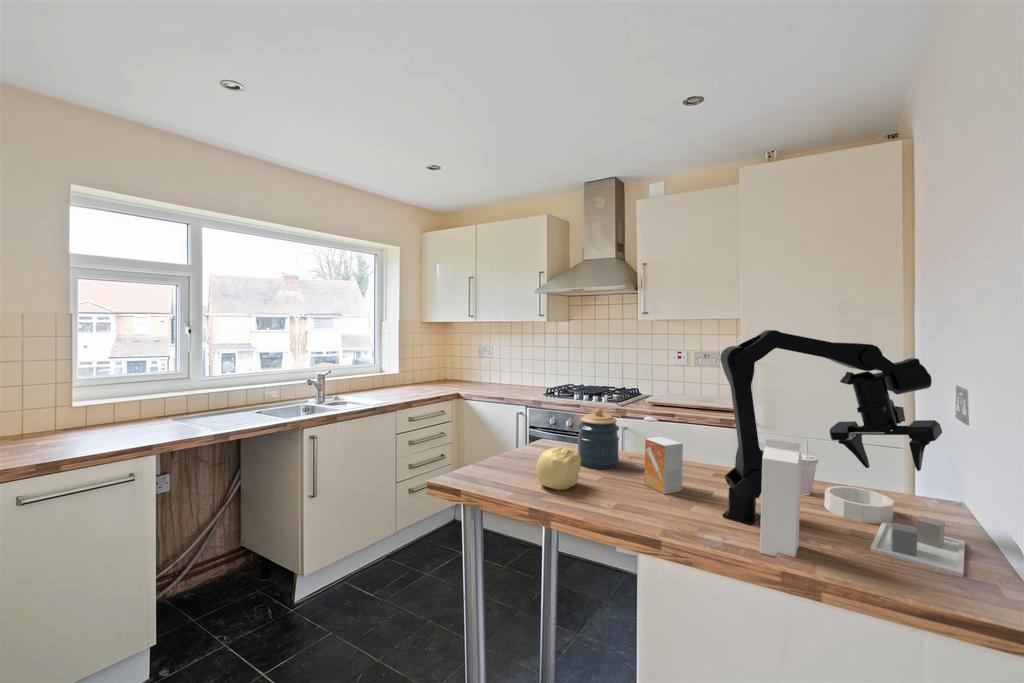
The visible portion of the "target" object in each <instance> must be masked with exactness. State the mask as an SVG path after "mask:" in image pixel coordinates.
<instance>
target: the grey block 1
mask: <svg viewBox="0 0 1024 683" xmlns="http://www.w3.org/2000/svg"><path fill="white" fill-rule="evenodd" d="M890 545H891V549H892V551H893V552H898V553H903V554H907V555H912V556H917V531H916V526H912V525H907V524H902V523H897V522H893V521H892V522H891V538H890Z"/></svg>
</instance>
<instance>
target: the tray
mask: <svg viewBox="0 0 1024 683" xmlns="http://www.w3.org/2000/svg"><path fill="white" fill-rule="evenodd" d="M890 538H891V523H886V522H882V523H881V524H880V526H879V529H878V531H877V533H876V534H875V537H874V539H873V541H872V543H871V545H870V548H869V549H870V550H869V551H870V552H871V553H875V554H878V555H882V556H886V557H890V558H893V559H897V560H900V561H904V562H907V563H911V564H915V565H918V566H922V567H926V568H929V569H933V570H937V571H940V572H943V573H947V574H950V575H951V574H952V575H955V576H958V577H962V578H964V570H965V568H964V566H965V546H966V545H965V544H966V543H965V542H966V541H964V540H961V539H956V538H952V537H949V536H945V535H944V544H943V545H942V546H941V547H940V548H936V547H933V546H929V545H926V544H922V543H919V542H917V556H912V555H907V554H903V553H898V552H893V551H892V549H891V545H890Z"/></svg>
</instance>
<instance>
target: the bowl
mask: <svg viewBox="0 0 1024 683" xmlns="http://www.w3.org/2000/svg"><path fill="white" fill-rule="evenodd" d="M894 506H895V501H894V500H893V499H891V498H890V497H889V496H887V495H885V494H881V493H879V492H876V491H873V490H870V489H863V488H859V487H856V486H855V487H854V486H846V485H845V486H841V485H835V486H828V487H827V488H826V489H825V490H824V508H825V509H827V511H829V513H831V514H833V515H836V516H838V517H841V518H844V519H846V520H851V521H855V522H860V523H865V524H873V525H874V524H876V525H881V523H882V522H886V523H891V522H892V523H893V519H894V513H895V512H894V508H895V507H894Z"/></svg>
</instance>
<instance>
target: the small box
mask: <svg viewBox="0 0 1024 683" xmlns="http://www.w3.org/2000/svg"><path fill="white" fill-rule="evenodd" d="M644 440H645V441H644V442H645V444H644V448H645V449H644V476H643V477H644V481H643V483H644V485H645V486H647V487H650V488H651V489H654V490H655V491H657V492H659V493H661V494H663V495H666V494H673V493H678V492H682V491H683V454H684V453H683V452H684V451H683V450H684V445H683V443H682V442H679V441H677V440H674V439H671V438H668V437H664V436H656V437H654V436H653V437H647V438H645V439H644Z"/></svg>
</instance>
